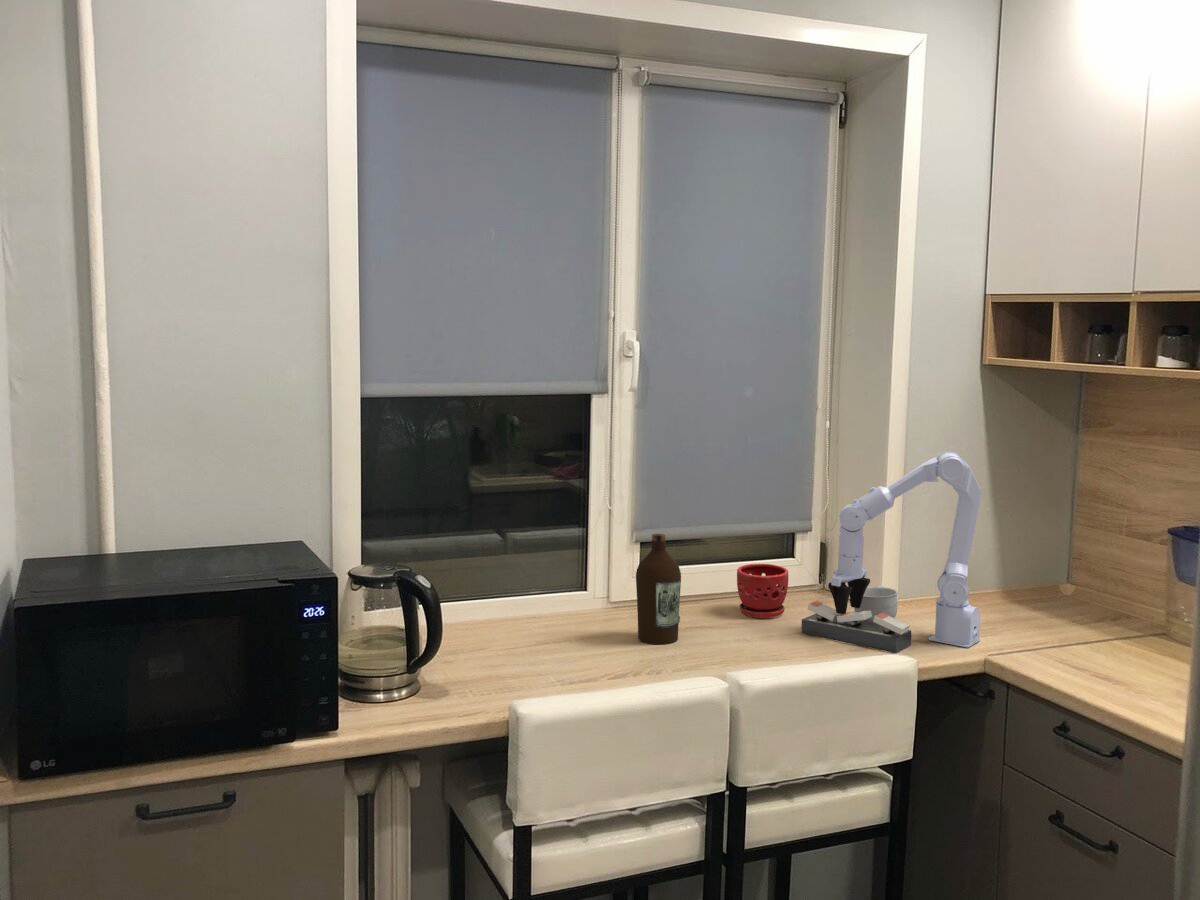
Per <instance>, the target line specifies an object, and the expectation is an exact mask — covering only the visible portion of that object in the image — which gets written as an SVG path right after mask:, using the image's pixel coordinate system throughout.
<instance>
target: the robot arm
mask: <svg viewBox="0 0 1200 900" xmlns="http://www.w3.org/2000/svg"><path fill="white" fill-rule="evenodd" d="M939 477H940V479H941V480H942V481H943V482H945V483H946V484H948V485H950V486H951V487H952V488H953V489H954V492H956V493H957V495H958V498H957V503H956V504H957V505H956V508H955V509H956V510H955V514H954V521H953V525H952V526H953V527H952V531H951V532H952V533H951V537H950V541H949V549H948V553H947V558H946V562H945V564H944V568H943V569H944V570H943V572H942V573H941V575H940V576H939V577H938V579H937V589H938V591H939V593H940V595H939V596H938V597H937V598H936V600H935V601H936V602H935V626H934V627H935V628H934V630H935V631H934V634H933V635H932V636H930V637H928V638H927V639H928V640H929V641H932V642H937V643H942V644H948V645H952V646H956V647H957V646H958V647H963V648H970V647H971V646H973V645H975V644H976V643H978V642H980V641H981V638H980V627H981V626H980V625H981V613H980V612H981V611H980V609H979V607H976V606H972V605H970V602H969V600H968V599H969V595H970V589H969V586H968V575H969V569H968V568H969V562H970V556H971V551H972V546H973V539H974V536H975V535H974V534H975V531H976V529H975V528H976V524H977V519H978V513H979V509H980V508H979V507H980V501H981V497H982V489H981V487H980V484H979V483H978V481H977V478H976V476H975V474H974V473H973V470H972V468H971V467H970V465H969V464H968V463H967V462H966V461H965V460H964V459H963V458H962V457H961V456H960V455H959V454H958V453H956V452H954V451H953V452H952V451H946V452H942V453H941V454H939V455H938V456H937V457H932V458H930V459H929V460H926V461H925V462H923V463H922V464H920V465H918V466H917V467H916V468H914V469H912V470H911V471H909V472H908V473H907V474H905V475H903V476H902V477H901V478H899V479H898V480H896V481H894V482H893V483H892V484H889V486H880V485H879V486H877V487H874V486H872V487H871V488H869V490H868V491H869V492H868V493H866V494H864V495H862V496H861V497H859V498H858V499H856V498H854V499H853V500H851V502H852V504H851V503H850V504H849V503H848V504H847V505H845V506H843V507H842V508H841V510H840V514H839V522H840V528H839V536H838V552H837V554H838V558H837V569H834V570H833V573H832V574H834V575H833V576H832V577H831V582H828V584H827V588H828V589H829V592H830V593H831V596H832V599H833V601H834V602H833V603H834V607H835V608H834V609H835V610H836V613H839V614H845V613H846V612H847V609H848V603H849V604H850V605H849V606H850V608H853V609H854V608H860V606H861V603H862V599H863V596H864V593H865V591H866V588H867V587H869V585H870V584H871V579H870V578H868V577H867V576H868V568H865V567H864V566H863V564H864V563H863V561H864V560H863V559H864V539H865V538H864V535H863V534H864V526H865V525H866V522H868V521H872V520H873V519H875V518H877V517H879V516H880V515H881V514H883V513H885V512H886V511H889V509H891V508H893V507H894V504H895V499H897V498H899V497H900V496H902V495H904V494H906V493H908V492H909V491H911V490H913V489H914V488H916V487H918V486H920V485H921V484H924V483H926V482H930V483H931V482H932V483H935V482H936V483H937V482H939V479H938V478H939Z"/></svg>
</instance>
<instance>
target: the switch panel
mask: <svg viewBox="0 0 1200 900" xmlns="http://www.w3.org/2000/svg"><path fill="white" fill-rule="evenodd" d="M801 635H806V636H811V637H816V638H821V639H826V640H829V641H830V640H831V641H835V642H840V643H846V644H849V645H854V646H860V647H863V648H868V649H869V648H870V649H874V650H879V651H884V652H889V653H893V654H897V653H899V652H901V651H903V650H905V649H907V648H909V647H910V645H911V646H912V630H910V629H908V631H907V632H905V633H903V634H901V635H900V634H898V633H896V632H894V631H892V630H890V629H888V628H886V627H883V626H881V625H879V624H874V623H869V622H864V621H862V620H858V621H848V622H838V621H837V620H834V621H831V620H829V619H827V618H824V617H822V616H820V615H818V614H816V613H814V614H812V615H809V616H807V617H804V618H801ZM908 646H909V647H908Z"/></svg>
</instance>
